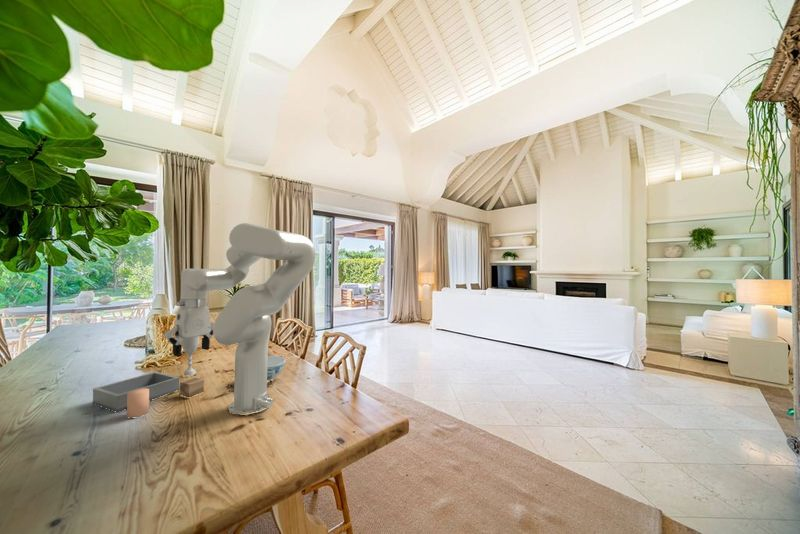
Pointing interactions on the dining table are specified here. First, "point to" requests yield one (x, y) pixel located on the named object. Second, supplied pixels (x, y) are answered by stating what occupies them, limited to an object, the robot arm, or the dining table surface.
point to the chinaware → (274, 366)
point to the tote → (117, 392)
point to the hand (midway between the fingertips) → (191, 352)
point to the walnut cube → (191, 387)
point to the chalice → (190, 352)
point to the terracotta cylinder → (137, 402)
